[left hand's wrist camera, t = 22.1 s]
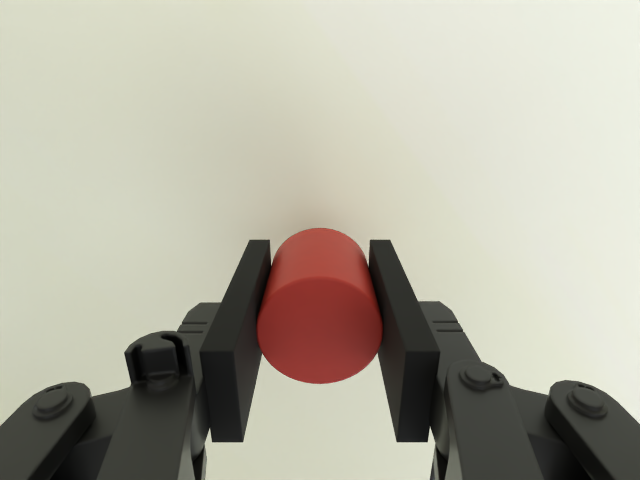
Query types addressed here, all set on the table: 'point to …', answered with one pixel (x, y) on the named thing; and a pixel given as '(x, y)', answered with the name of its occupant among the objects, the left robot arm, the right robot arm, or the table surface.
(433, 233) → the table surface
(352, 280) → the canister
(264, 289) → the left robot arm
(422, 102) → the table surface
